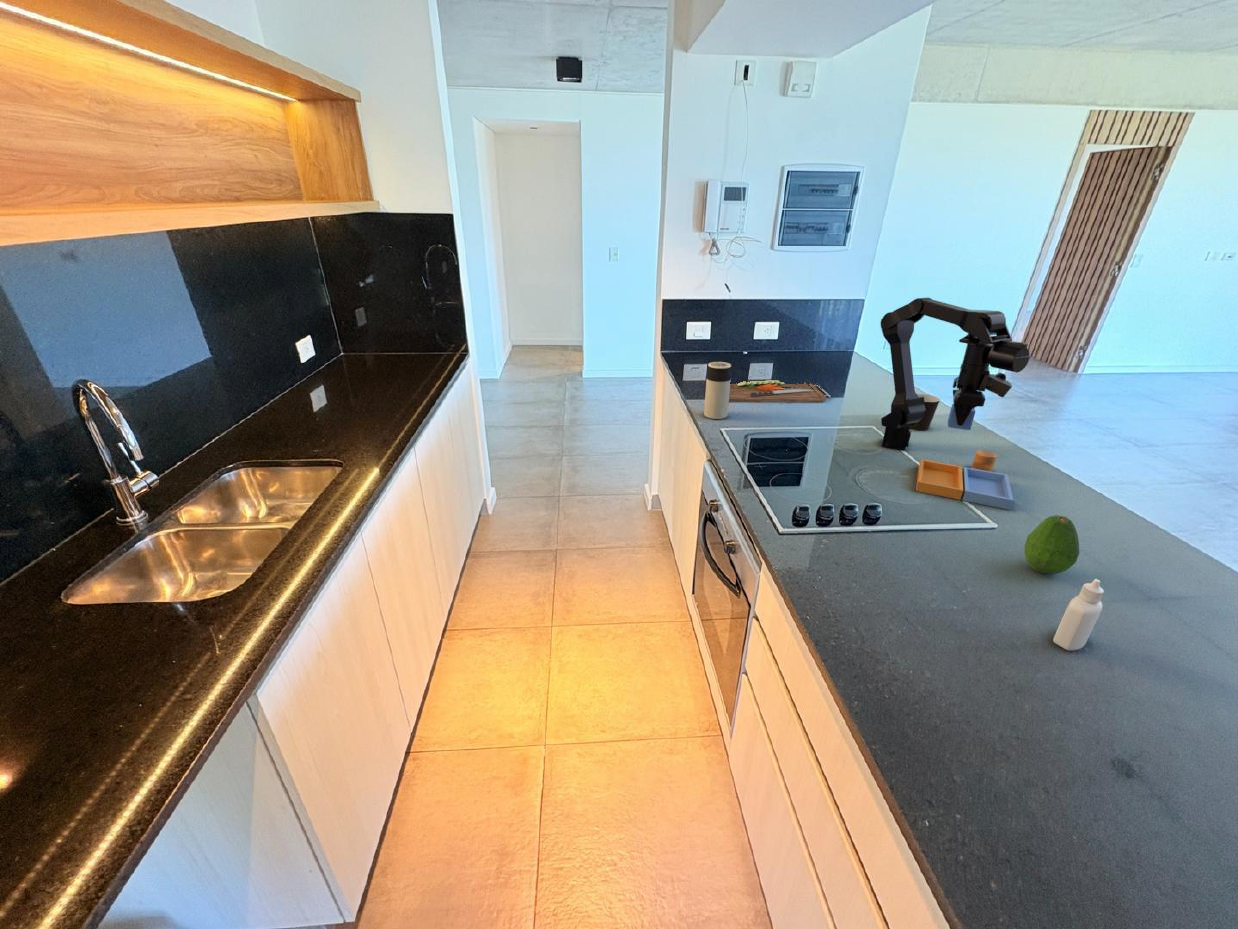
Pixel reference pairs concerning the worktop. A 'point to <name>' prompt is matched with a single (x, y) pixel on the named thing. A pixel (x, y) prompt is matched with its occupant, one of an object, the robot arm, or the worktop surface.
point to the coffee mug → (927, 412)
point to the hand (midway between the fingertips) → (959, 422)
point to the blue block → (953, 421)
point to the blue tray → (986, 488)
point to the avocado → (1052, 545)
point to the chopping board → (775, 392)
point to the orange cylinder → (984, 460)
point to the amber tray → (940, 479)
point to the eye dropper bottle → (1080, 617)
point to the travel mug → (717, 390)
